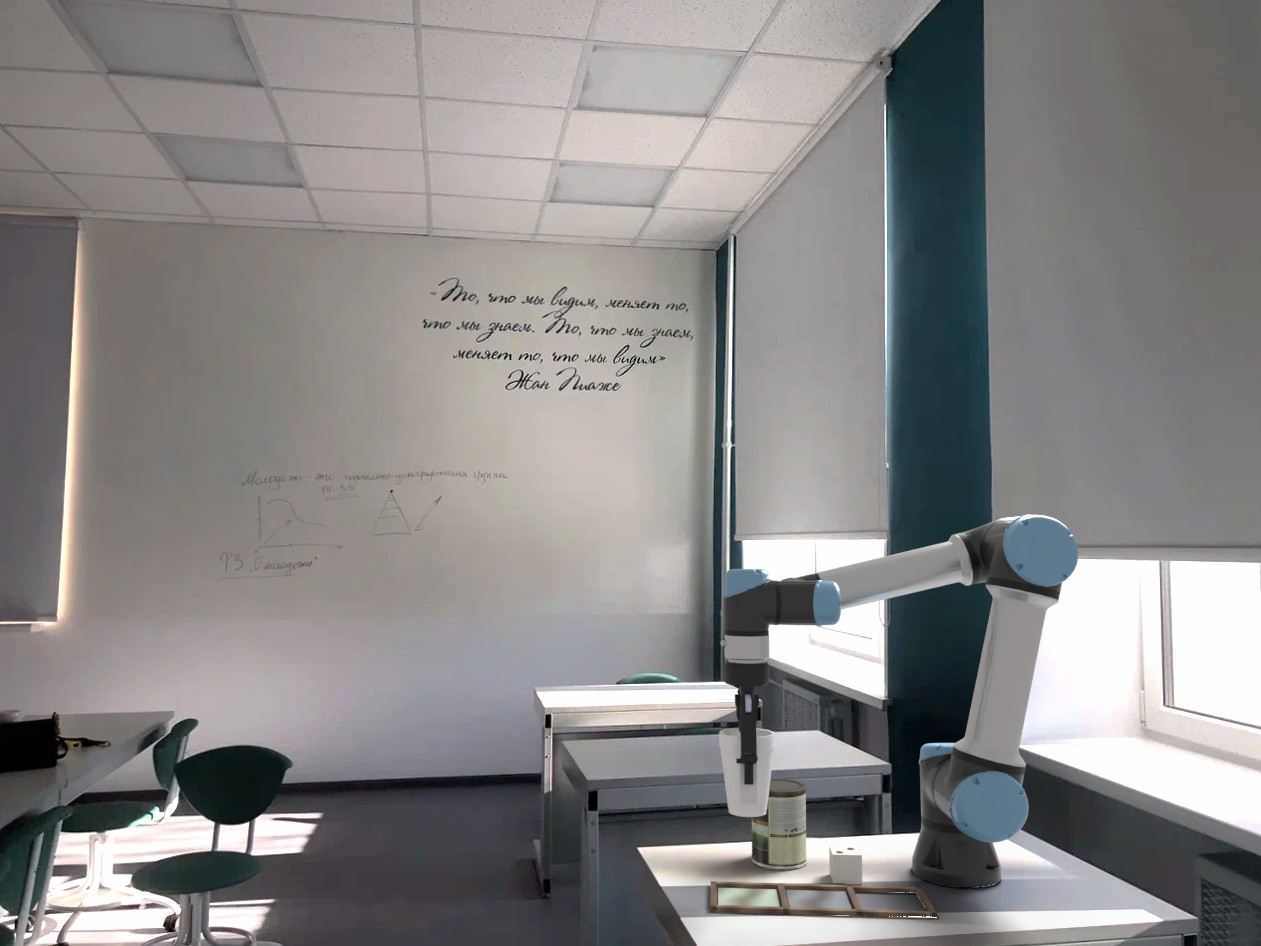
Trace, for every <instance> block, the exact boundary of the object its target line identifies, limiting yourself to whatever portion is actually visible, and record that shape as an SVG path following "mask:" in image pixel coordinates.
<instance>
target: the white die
mask: <svg viewBox="0 0 1261 946" xmlns="http://www.w3.org/2000/svg"><path fill="white" fill-rule="evenodd" d="M828 847H829V848H828V851H829V852H828V853H829V877H830V876H831V877H830V879H831V882H832V881H833V882H832V884H833V883H846V884H845V885H861V884H862V885H863V855H862V853H861V851H860V848H859V847H858V846H838V845H837V846H836V845H835V846H833V845H829V846H828Z"/></svg>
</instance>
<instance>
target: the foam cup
mask: <svg viewBox="0 0 1261 946" xmlns="http://www.w3.org/2000/svg"><path fill="white" fill-rule="evenodd" d="M756 740H757V757H758V760H757V762H756V763H757V805H746V804H740V764H737V763H736V759H740V758H741V735H740V732H739V728H738V727H733V728H724V729H721V730H719V732H718V743H719V746H718V747H719V748H720V755H721V761H722V771H723V777H724V778H723V780H724V786H725V794H726V803H727V809H728V814H730V815H733V816H736V817H744V818H752V817H758V816H763V815H765V814H766V810H767V804H768V796H769V787H770V779H772V778H771V776H772V769H773V760H774V751H775V750H776V732H775V731H773V730H770V729H764V728H760V727H759V728H757V727H756ZM745 754H752V753H745Z"/></svg>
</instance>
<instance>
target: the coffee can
mask: <svg viewBox="0 0 1261 946" xmlns="http://www.w3.org/2000/svg"><path fill="white" fill-rule="evenodd" d="M806 791H807V785H806V784H805V783H804V782H801V781H799V780H795V779H789V778H788V779H787V778H771V779H770V787H769V796H768V804H767V810H766V814H765V815H763V816H758V817H751V863H752V864H753V865H755V864H756V865H755V866H757V865H758V866H757V867H759V866H761V867H760V868H762V867H764V868H763V869H766V868H769V869H768V870H772V869H793V870H795V869H794V868H798V867H802V866H804V865H805V864H806V863H807V862H808V861H807V815H806V814H807V811H806V810H807V805H806V803H807V802H806V799H807V798H806ZM806 865H807V864H806ZM806 865H805V866H806ZM805 866H804V867H805ZM802 868H803V867H802Z"/></svg>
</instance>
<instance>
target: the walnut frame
mask: <svg viewBox="0 0 1261 946" xmlns="http://www.w3.org/2000/svg"><path fill="white" fill-rule="evenodd" d="M709 881H710V880H709ZM709 886H710V888H709V889H710V894H709V895H710V897H709V899H710V901H709V902H710V903H709V904H710V909H709V910H710V913H724V914H725V913H727V914H728V913H733V914H761V915H764V914H765V915H767V914H769V915H789V916H790V915H793V916H821V915H849V916H848V917H853V916H863V917H862V918H885V917H889V916H890V917H892V916H893V917H897V916H898V917H900V916H901V917H903V916H906V917H908V916H922V917H923V916H924V917H926V916H930V917H931V916H932V917H939V915H938V912H937V910H936V909H935V908H934V906H933V904H932V903H931V901H930V900H929V898H928V896H927V895H926V893H925V892H924V890H923V889H922V887H920V886H890V885H889V886H888V885H887V886H886V885H884V886H883V885H860V884H822V883H821V884H818V883H788V882H787V883H785V882H784V883H783V882H779V883H777V882H750V881H749V882H748V881H747V882H746V881H717V880H716V881H715V880H714V881H710V885H709ZM846 891H847V892H846ZM865 892H869V893H870V894H873V893H874V894H884V893H883V892H905V893H907V892H908V893H909V892H913V893H914V892H915V893H917V895H918V896H919V898H920V900H921V901H920V900H919V901H920V903H921V902H922V903H923V905H924V906H925V908H926V910H927V911H926V910H902V909H901V910H898V909H897V910H895V909H893V910H892V909H867V908H866V909H865V908H864V909H863V908H862V906H861V903H860V901H859V898H858V897H857V894H856V893H865ZM876 892H877V893H876ZM847 893H848V894H847ZM869 893H868V894H869ZM917 895H916V896H917ZM849 898H850V899H849ZM919 898H918V899H919ZM851 903H852V904H851ZM922 903H921V904H922ZM923 905H922V906H923ZM924 906H923V907H924ZM853 908H854V909H853ZM925 908H924V909H925ZM864 916H866V917H864Z"/></svg>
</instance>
